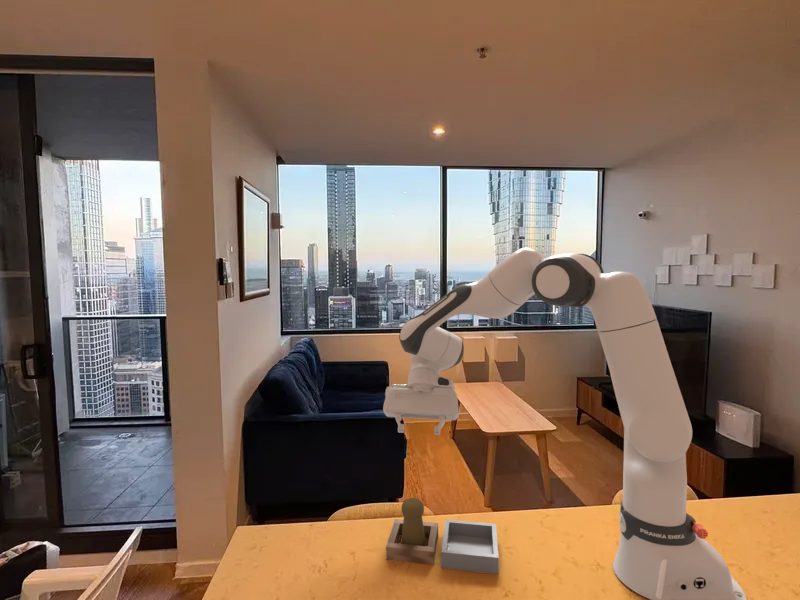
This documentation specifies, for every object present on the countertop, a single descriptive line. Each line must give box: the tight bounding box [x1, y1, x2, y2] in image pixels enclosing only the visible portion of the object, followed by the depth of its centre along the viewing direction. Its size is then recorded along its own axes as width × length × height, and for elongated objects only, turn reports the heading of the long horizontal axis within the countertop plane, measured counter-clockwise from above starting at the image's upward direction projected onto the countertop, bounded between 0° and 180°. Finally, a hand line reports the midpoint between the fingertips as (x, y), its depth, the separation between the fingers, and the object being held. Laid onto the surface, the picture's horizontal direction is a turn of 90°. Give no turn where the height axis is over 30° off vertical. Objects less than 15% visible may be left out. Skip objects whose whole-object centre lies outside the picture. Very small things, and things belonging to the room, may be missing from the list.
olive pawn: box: [400, 497, 427, 546], centre depth 97 cm, size 6×6×11 cm
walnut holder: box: [385, 518, 439, 566], centre depth 97 cm, size 11×11×3 cm
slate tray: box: [440, 519, 500, 575], centre depth 95 cm, size 12×12×4 cm
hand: (418, 432), depth 108 cm, fingers open, 8 cm apart
